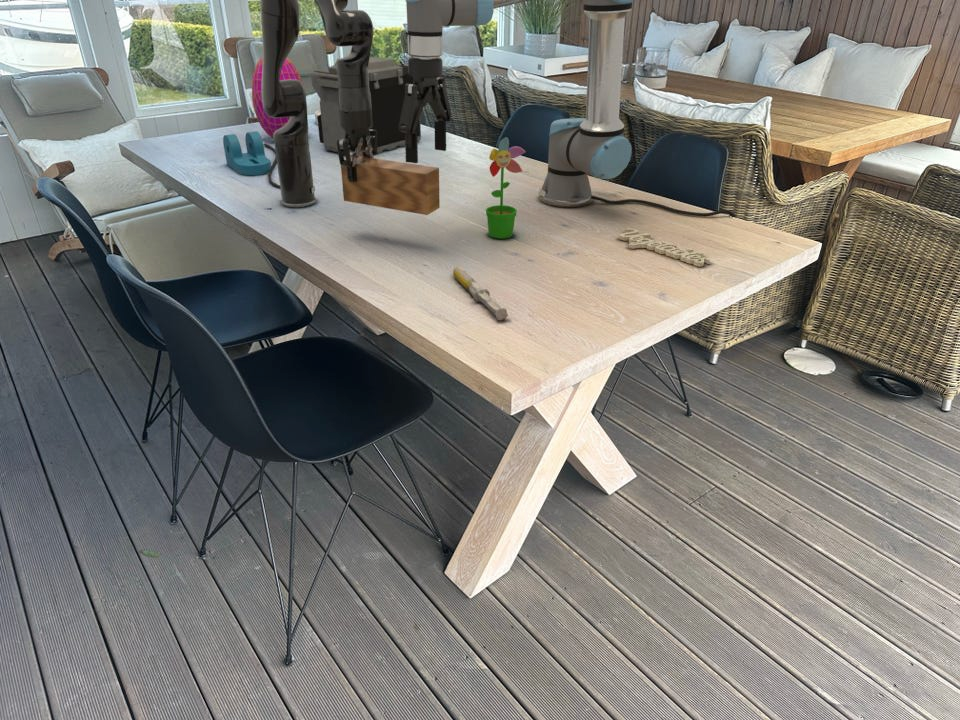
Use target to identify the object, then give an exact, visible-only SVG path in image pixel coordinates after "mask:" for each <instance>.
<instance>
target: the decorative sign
mask: <svg viewBox="0 0 960 720" xmlns="http://www.w3.org/2000/svg"><path fill="white" fill-rule="evenodd" d="M618 239H619V240H620V241H624V242H625V241H628V243H629V244H628V249H632V250H633V249H646V250H649V251H654V253H657V254H660V255H664V256H667V257H671V258H673V259H675V260H680V261H681V262H683V263H684V262H685V263H687V264H690V265H693V266H695V267H703V266H704V265H705V264H706V265H710V264H711V263H710V262H711V259H710V258H709V257H704V254H705V253H704V252H703V251H694V248H691V247H690V248H689V247H688V248H679V247H678V245H676V244H674V243H673V242H667V241H662V242H661V241H656V240H653V239H651V233H647V232H646V233H639V230H638V229H635V228H627V227H626V228H625V231H624V232H623V233H620V234H619V237H618Z"/></svg>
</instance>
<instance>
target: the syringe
mask: <svg viewBox="0 0 960 720" xmlns="http://www.w3.org/2000/svg"><path fill="white" fill-rule="evenodd" d="M452 274H453V277H454V279H455V280H457V281H458V282H459V283H460V285H462V287H464V289H466V290H467V291H468V293H470V295H471V296H472V298H473V300H474V302H477V303H478V302H480V303H482V304H483V305H484V306H485V307H486V308H487V309H488V310H489V311H490V312H491V313H492V314H493V315H494V316H495V317H496V320H497V321H503V320H504V319H506V318H507V317H509V314H508V310H507V308H506V307H502V306H501V305H500V303H498V302H497V301H496V300H494V299H493V298H492V297H491V296H490V295H491V293H490V290H488V289H486V288H483V287H482V286H481V285H480V284H479V283H478V282H477V281H476V280H474V278H473V277H471V275H469V274H468V273H467V272H466V270H465V269H464V268H463V267H462V266H456V267H454V268H453V271H452Z"/></svg>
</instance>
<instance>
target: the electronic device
mask: <svg viewBox="0 0 960 720" xmlns="http://www.w3.org/2000/svg"><path fill="white" fill-rule="evenodd" d="M339 59H340V58H337V59H336V60H335V63H334V64H333V65H330V66H329V67H328V72H327V71H320V70H314V71H313V70H312V71H310V79H311V87H313V90H314V91H315V93H316V94H317V96H318V98H319V110H320V111H321V115H319V116H318V117H317V120H318V125H317V128H318V138H319V143H320V144H323V146H324V149H325V150H327V151H330V152H335V153H338V149H337V140H342V139H344V136H345V130H344V129H343V128H342V127H341V125H340V114H339V102H338V77H337V61H338V60H339ZM368 76H369V89H370V94H371V106H372V121H373V126H372V127H371V128H370V129H372V130H377V154H381V153H382V152H383V151H391V150H395V149H396V148H397V147H405V133H404V132H400V131H399V129H398V127H399V122H400V117H401V112H402V107H403V102H404V97H405V85H406V84H413V82H414V78H413V77H411V76H409V74H408V65H400V64H396V62H395V60H394V59H393V58H385V57H377V56H370V58H369V63H368ZM411 96H412V95H411ZM411 127H412V126H411ZM415 133H417V143H418V142H419V141H421V137H422V128H421V117H420V118H419V121H418V124H417V127H416V130H415ZM371 146H372V150H373V145H372V144H371ZM350 152H351V150H350ZM351 153H354V152H351ZM359 156H361V157H363V156H362V154H361V152H360V155H359Z"/></svg>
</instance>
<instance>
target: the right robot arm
mask: <svg viewBox="0 0 960 720" xmlns="http://www.w3.org/2000/svg"><path fill="white" fill-rule="evenodd" d="M529 1H531V0H405V4H406V5H405V7H406V28H407V29H406V30H407V31H406V33H407V40H406V43H407V54H408V56H410V57H408V59H407V66H408V74H409V76H411V77H413V78H414V82H413V84H406V85H405V97H404V102H403V107H402V112H401V117H400V122H399V127H398V129H399V131H400V132H404V133H405V146H404V147H405V163H410V164H419V152H418V150H419V149H418V147H419V146H418V145H419V143H418V142H417V133H415V130H416V127H417V124H418V121H419V118H420V119H421V115H422V112H423V109H424V107H426V106H427V104H429V106H430V107H431V108H430V109H431V110H432V113H433V115H434V117H435V119H436V120H435V121H434V150H435V151H441V152H446V151H447V123H450V122H451V117H452V111H451V107H450V103H449V98H448V93H447V89H446V80H445V77H442V76H443V59H442V57H441V56H443V54H444V53H443V52H444V51H443V29H444V28H443V27H478V26H486V25H488V24H489V23H490V22H491V20H492V18H493V16H494V9H499V8H503V7H506V6H507V7H508V6H512V5H517V4H520V3H524V2H525V3H526V2H529ZM633 1H634V0H583V7H582V8H583V13H584V14H585V15H586V16H587V17H588V20H589V21H588V22H589V23H588V48H587V50H588V51H587V73H586V74H587V75H586V76H587V77H586V100H585V101H586V102H585V103H586V105H585V117H577V118H576V117H575V118H574V117H573V118H562V119H556V120H554V121H553V122H551V124H550V129H549V134H548V136H549V138H548V139H549V141H548V156H547V157H548V159H547V173H546V176H545V178H544V181H543V184H542V187H541V188H539V191H538V195H539V200H540V202H542V203H543V204H546V205H549V206H553V207H558V208H559V207H560V208H580V207H584V206H588V205H589V204H591V203H592V200H593V201H594V200H595V201H598V202H602V203H604V204H608V205H621V204H627V203H628V204H629V203H635V204H643V205H648V206H653V207H656V208H659V209H663V210H666V211H669V212H671V213H676V214H681V215H687V216H694V217H713V216H716V215H720V214H721V215H722V214H727V215H729V216H730V217H731V218H736V214H735V213H734V212H733V211H731V210H729V209H719V210H715V211H711V212H710V211H709V212H696V211H689V210H688V211H687V210H682V209H677V208H675V207H674V208H673V207H671V206H667V205H666V204H665V205H664V204H660V203H658V202H653V201H649V200H644V199H636V198H627V199H618V200H610V199H607V198H606V199H605V198H603V197H599V196H595V195H593V193H592V188H591V184H590V179H589V175H590V176H592V177H594V178H595V179H596V178H598V179H602V180H611V179H614V178H617V177H618V176H619V175H621V174H622V173H623V171H624V170H625V169H626V168H627V166H628V165H629V163H630V162H631V161H630V160H631V157H632V151H633V149H632V144H631V142H629V139H628V138H627V137H625V136H624V135H625V124H624V122H623V121H622V120H621V119H620V108H621V107H620V105H621V92H622V91H621V90H622V75H623V74H622V73H623V58H624V57H623V55H624V42H625V41H624V39H625V24H626V16H628V14H629V13H630V12H631V11H632V9H633ZM411 95H412V96H411ZM411 126H412V127H411Z"/></svg>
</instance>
